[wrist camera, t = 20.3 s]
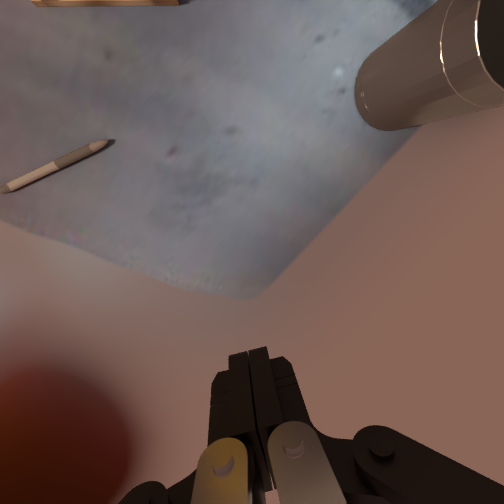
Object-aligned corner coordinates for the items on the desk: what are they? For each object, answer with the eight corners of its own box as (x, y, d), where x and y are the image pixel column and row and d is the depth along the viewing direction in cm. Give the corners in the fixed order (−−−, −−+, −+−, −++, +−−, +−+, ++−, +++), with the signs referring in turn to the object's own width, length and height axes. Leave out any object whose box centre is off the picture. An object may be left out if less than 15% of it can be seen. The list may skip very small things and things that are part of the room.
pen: (0, 188, 34) (-9, 188, 32) (108, 136, 33) (103, 135, 32) (6, 196, 34) (-3, 197, 33) (113, 145, 34) (108, 144, 32)
